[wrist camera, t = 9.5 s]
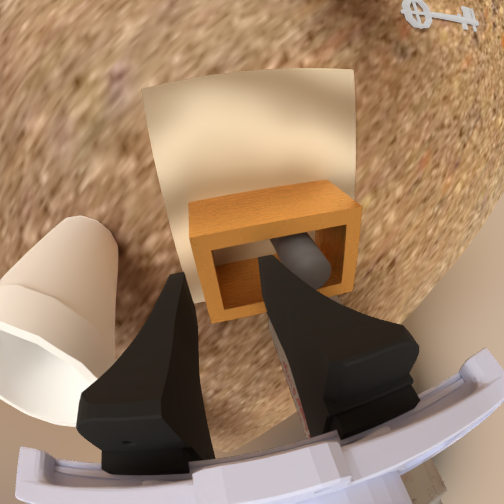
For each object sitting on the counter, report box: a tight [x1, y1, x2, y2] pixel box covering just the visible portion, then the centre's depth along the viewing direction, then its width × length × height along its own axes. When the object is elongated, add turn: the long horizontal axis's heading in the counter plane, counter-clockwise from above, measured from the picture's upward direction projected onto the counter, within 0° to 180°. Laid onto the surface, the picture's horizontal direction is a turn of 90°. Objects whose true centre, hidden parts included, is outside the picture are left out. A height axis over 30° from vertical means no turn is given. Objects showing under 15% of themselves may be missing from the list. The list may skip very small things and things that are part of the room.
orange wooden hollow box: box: [188, 180, 362, 323], centre depth 19 cm, size 10×6×5 cm, turn 96°
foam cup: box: [0, 215, 119, 427], centre depth 15 cm, size 10×9×13 cm
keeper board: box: [141, 68, 356, 303], centre depth 18 cm, size 17×14×8 cm
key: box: [401, 0, 479, 32], centre depth 15 cm, size 12×1×3 cm
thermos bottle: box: [268, 295, 447, 504], centre depth 18 cm, size 8×8×28 cm
